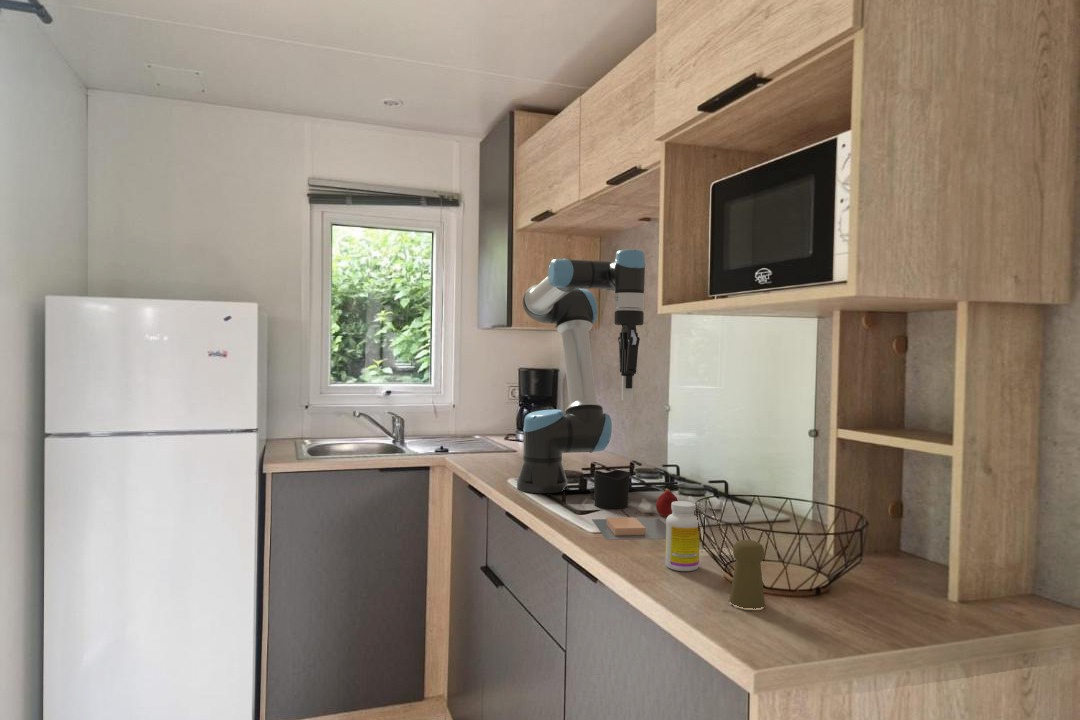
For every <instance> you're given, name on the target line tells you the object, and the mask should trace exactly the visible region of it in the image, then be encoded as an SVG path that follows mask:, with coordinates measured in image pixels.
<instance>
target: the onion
mask: <svg viewBox="0 0 1080 720" xmlns="http://www.w3.org/2000/svg"><path fill="white" fill-rule="evenodd" d="M674 501H679V499H678V497H677V496H676V495H675V494H674V493H673V492H671V491H670V488H665V490H664V492H662V494H661V495H659V497H657V499H656V503H655V506H656V507H655V508H656V511H657V513H658V514H659V515H660V516H662V517H663V518H667V517H668V516H669V515H670V514H672V509H671V504H672V502H674Z"/></svg>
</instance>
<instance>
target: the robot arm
mask: <svg viewBox="0 0 1080 720" xmlns="http://www.w3.org/2000/svg"><path fill="white" fill-rule="evenodd" d="M645 255H646V254H645V252H644V251H643V250H641V249H620V250H617V251H616V253H615V258H614V259H615V260H614V261H611V260H610V261H609V260H607V261H606V260H590V259H589V260H586V259H570V258H569V259H568V258H557V259H556V258H555V259H552V260H551V261H550V263H549V266H548V271H547V276H546V277H545V278H544V279H543V280H541V281H540V283H538V284H534V285H532V286H530V287H529V288H528V289H526V291H525V292H524V294H523V297H522V301H521V302H522V307H523V311H524V312H525V313H526V315H528V317H530V318H531V319H532V320H534V321H536V322H538V323H541V324H550V325H551V324H552V325H553V324H555V325H556V327H555V328H556V331H557V332H558V333H559V334H560V335H561V337H562V338H561V339H562V346H563V347H562V349H563V356H564V357H563V358H564V366H565V376H566V384H567V385H566V386H567V394H568V395H567V396H568V403H569V404H568V406H567V408H565V410H564V412H565V414H564V412H563V410H561V409H543V410H536V411H533V412H529V413H528V414H526V415H525V416H524V420H523V421H524V422H523V429H522V431H523V457H522V458H523V462H522V466H521V469H520V471H519V475H518V477H517V482H516V488H517V489H518V490H519V491H520V492H521V491H522V492H524V493H525V492H526V493H533V494H556V493H561V492H563V491H562V490H563V488H564V487H566V486H567V487H568V479H567V475H566V472H565V469H564V466H563V462H562V461H563V454H567V453H568V454H569V453H570V454H571V453H572V454H573V453H575V454H576V453H590V454H591V453H598V452H603V451H605V450H606V449H607V447H608V445H609V444H610V441H611V437H612V431H613V430H612V428H613V425H612V424H613V423H612V418H611V416H610V415H609V413H606V412H605V413H604V410H603V405H601V404H600V403H599V402H598V400H597V393H596V384H595V377H594V376H595V375H594V368H593V358H592V352H591V351H592V349H591V342H590V331H591V329H592V328H593V324H595V323H596V321H597V318H598V313H597V312H598V305H597V300H596V297H595V295H594V294H593V292H592V291H591V290H589V289H592V290H593V289H595V290H606V291H614V293H615V294H614V296H613V297H612V301H615V302H614V308H615V309H616V310H615V311H614V317H613V318H614V319H613V320H614V325H616V326H621V331H620V332H619V336H618V338H617V341H618V348H619V349H618V350H619V351H618V352H619V357H618V358H619V372H620V375H621V399H620V400H621V401H623V402H634V380H635V379H634V377H635V375H636V374H637V365H638V355H639V345H640V340H641V338H640V336H639V333H638V332H637V326H643V325H644V324H645V322H644V320H645V318H644V317H645V316H644V315H645V313H644V311H643V309H645V279H646V278H645V275H646V274H645V273H646V271H645V270H646V260H645V259H646V258H645Z"/></svg>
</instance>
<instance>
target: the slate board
mask: <svg viewBox="0 0 1080 720" xmlns="http://www.w3.org/2000/svg"><path fill="white" fill-rule="evenodd" d="M606 519H607V518H598V519H597V518H593V519H592V518H591V521H592V522H593V524H594V525H595V526H596V528H597V529H598V530H599V532H600V534H602V536H603V537H604V538H605V540H606V541H607V540H609V541H611V540H613V541H615V540H616V541H617V540H622V541H623V540H659V539H660V540H662V539H663V540H664V539H665V540H666V522H664V521H663V520H662V519H660V518H659V517H658V518H657V517H656V518H653V517H651V518H636V519H637V520H638V521H639V522H640V523H641V524H642V525H643V526H644V527H645V528H646V530H645V535H627V536H616V535H614V533H613V532H612V531H611V530H610V528H609V527H608V526H607V525H606Z"/></svg>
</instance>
